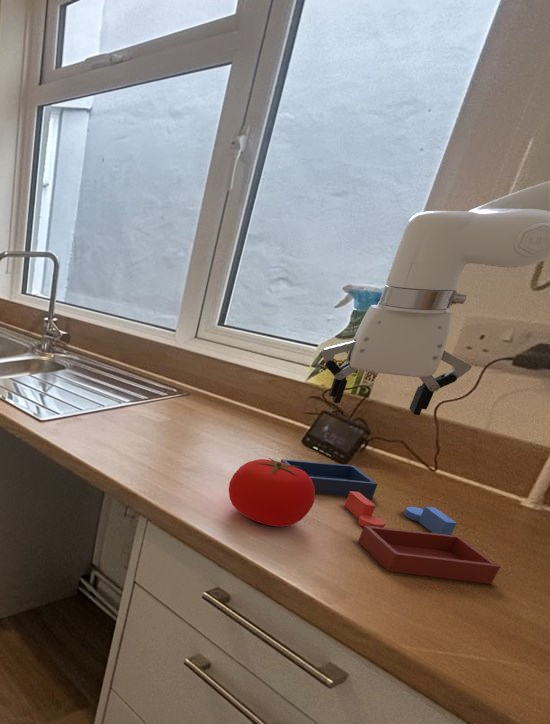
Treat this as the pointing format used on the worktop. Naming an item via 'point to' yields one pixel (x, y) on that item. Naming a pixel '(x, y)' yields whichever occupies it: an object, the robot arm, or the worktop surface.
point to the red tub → (428, 554)
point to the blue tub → (336, 478)
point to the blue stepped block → (431, 519)
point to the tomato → (272, 492)
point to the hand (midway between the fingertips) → (373, 406)
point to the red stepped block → (363, 510)
